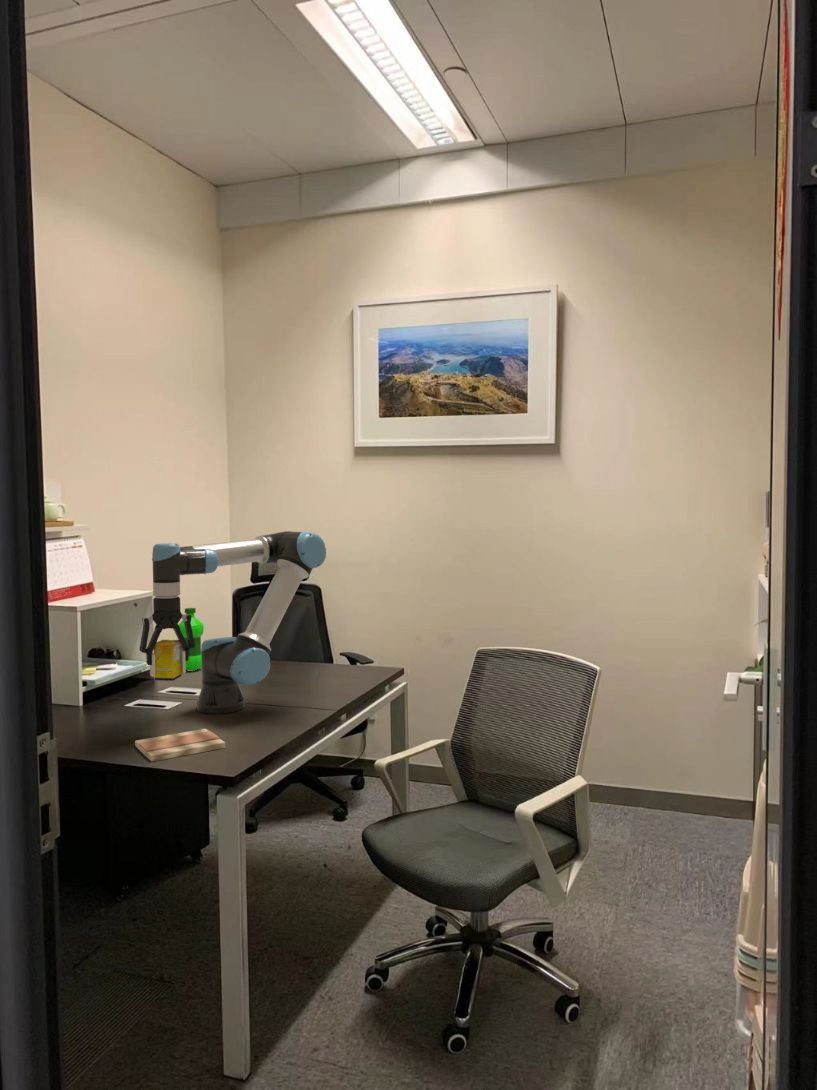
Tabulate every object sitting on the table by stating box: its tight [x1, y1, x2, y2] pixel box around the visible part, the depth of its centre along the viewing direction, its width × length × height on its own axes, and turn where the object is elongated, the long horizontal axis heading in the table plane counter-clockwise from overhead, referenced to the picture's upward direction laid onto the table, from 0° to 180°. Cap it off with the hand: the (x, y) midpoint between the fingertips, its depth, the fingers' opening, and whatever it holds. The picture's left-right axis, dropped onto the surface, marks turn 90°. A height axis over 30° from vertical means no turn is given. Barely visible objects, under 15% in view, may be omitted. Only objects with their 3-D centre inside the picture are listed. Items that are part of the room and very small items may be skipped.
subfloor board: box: [134, 728, 226, 763], centre depth 216 cm, size 20×16×2 cm
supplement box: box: [153, 639, 182, 682], centre depth 228 cm, size 6×6×11 cm
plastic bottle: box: [178, 607, 205, 671], centre depth 314 cm, size 10×10×25 cm
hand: (168, 674), depth 228 cm, fingers closed on supplement box, 8 cm apart
